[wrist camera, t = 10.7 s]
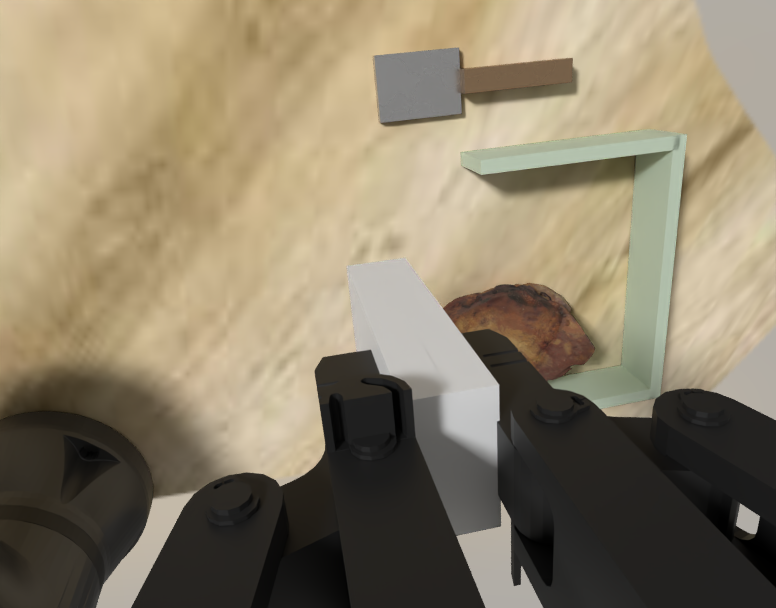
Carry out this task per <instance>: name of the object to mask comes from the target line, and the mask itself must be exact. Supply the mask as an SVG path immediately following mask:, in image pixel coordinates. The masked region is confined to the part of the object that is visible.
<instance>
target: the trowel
mask: <svg viewBox="0 0 776 608" xmlns="http://www.w3.org/2000/svg"><path fill="white" fill-rule="evenodd" d="M373 64H374V75H375V85H376V96H377V107H378V118H379V122H380V123H384V122H392V121H401V120H410V119H419V118H428V117H437V116H445V115H454V114H462V111H461V93H464V94H466V93H476V92H485V91H494V90H503V89H513V88H522V87H531V86H540V85H550V84H559V83H568V82H572V64H573V58H563V59H553V60H543V61H533V62H523V63H514V64H504V65H494V66H484V67H474V68H464V69H460V61H459V48H449V49H439V50H428V51H418V52H407V53H397V54H387V55H376V56H373Z"/></svg>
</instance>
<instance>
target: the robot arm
mask: <svg viewBox="0 0 776 608" xmlns="http://www.w3.org/2000/svg"><path fill="white" fill-rule="evenodd" d="M347 274H348V283H349V292H350V300H351V309H352V317H353V326H354V334H355V343H356V351H357V352H353V353H346V354H340V355H334V356H328V357H323V358H322V359H321V361H320V363H319V364H318V366H317V368H316V369H315V378H316V384H317V391H318V398H319V404H320V411H321V418H322V424H323V431H324V438H325V452H324V454H323V456H322V459H321V460H320V461H319V462H318V464H317V465H316V466H315V467H314V468H313V469H311V470H310V471H309V472H308V473H306V474H305V475H303V476H301V477H300V478H298V479H296V480H294V481H292V482H290V483H287V484H285V485H283V486H279V484H278V483H277V482H276V480H274V479H272V478H270V477H268V476H266V475H264V474H256V473H241V474H235V475H228V476H226V477H223V478H221V479H218V480H216V481H213V482H211V483H209V484H208V485H206V486H205V487H203V488H202V489H201V490H199V491H198V492H196V493H195V494H194V495H193V496H192V498H191V499H190V500H189V502H188V503H187V504H186V505H185V506H184V508H183V510H182V512H181V514H180V516H179V518H178V519H177V521H176V523H175V525H174V527H173V529H172V531H171V533H170V535H169V537H168V538H167V540H166V542H165V544H164V546H163V548H162V550H161V552H160V554H159V556H158V558H157V560H156V561H155V563H154V565H153V567H152V569H151V571H150V573H149V575H148V577H147V578H146V581H145V583H144V584H143V586H142V588H141V590H140V592H139V594H138V596H137V598H136V600H135V601H134V603H133V605H132V607H131V608H485V606H484V603H483V601H482V598H481V596H480V593H479V591H478V588H477V586H476V583H475V581H474V579H473V576H472V574H471V571H470V569H469V566H468V564H467V562H466V559H465V557H464V554H463V552H462V549H461V547H460V545H459V542H458V539H457V537H456V536H458V535H462V534H467V533H472V532H476V531H481V530H486V529H491V528H495V527H500V526H501V501H502V503H503V504H504V507H505V508H506V510H507V512H508V514H509V516H510V518H511V574H512V579H513V583H514V586H516V585H520V584H521V566H522V567H523V569H524V570H525V572H526V575H527V577H528V578H529V580H530V582H531V584H532V586H533V588H534V590H535V592H536V594H537V596H538V598H539V600H540V602H541V604H542V606H543V608H776V420H774V419H772V418H770V417H768V416H766V415H764V414H761V413H760V412H758V411H756V410H754V409H752V408H750V407H747V406H746V405H744V404H742V403H740V402H738V401H736V400H734V399H731V398H729V397H726V396H723V395H721V394H718V393H714V392H709V391H704V390H702V389H678V390H674V391H669V392H665V393H664V394H662V395H660V396H659V397H657V398H656V400H655V403H654V406H653V412H652V418H637V417H610V416H607V415H606V414H605V413H604V412H603V411H602V410H601V409H600V408H599V407H598V406H597V405H596V404H595V403H593V402H592V401H591V400H589V399H588V398H586V397H585V396H583V395H580V394H577V393H575V392H572V391H569V390H561V389H554V388H553V387H552V386H551V385H550V384H549V383H548V382H547V381H546V380H545V379H544V377H543V376H542V375H541V374H540V373H539V372H538V371H537V370H536V369H535V368H534V366H533V365H532V364H531V363H530V362H529V361H528V362H527V359H526V358H525V356H524V355H523V354H522V353H521V352H518V349H517V348H516V346H515V345H514V344H513V343H512V342H511V341H510V340H509V339H508V338H507V337H505V336H503V335H501V334H499V333H497V332H495V331H493V330H490V329H484V330H478V331H472V332H465V333H460V331H459V330H458V328H457V327H456V326H455V324H454V323H453V322H452V320H451V319H450V318H449V316H448V315H447V314H446V312H445V311H444V310H443V308H442V307H441V305H440V304H439V303H438V301H437V300H436V299H435V297H434V296H433V295H432V293H431V292H430V291H429V289H428V288H427V287H426V285H425V284H424V283H423V281H422V280H421V278H420V277H419V276H418V274H417V273H416V272H415V270H414V269H413V268H412V266H411V265H410V264H409V262H408V261H407V260H406V258H400V259H393V260H385V261H378V262H371V263H364V264H357V265H350V266H347ZM152 499H153V483H152V478H151V474H150V471H149V468H148V466H147V464H146V462H145V460H144V459H143V457H142V456H141V454H140V453H139V451H138V450H137V449H136V448H135V447H134V446H133V445H132V444H131V443H130V442H129V441H128V440H127V439H126V438H125V437H123V436H122V435H121V434H119V433H118V432H116V431H115V430H113V429H112V428H110V427H108V426H106V425H104V424H102V423H100V422H97V421H95V420H92V419H89V418H86V417H83V416H79V415H75V414H69V413H63V412H30V413H23V414H18V415H14V416H10V417H7V418H4V419H1V420H0V608H96V605H97V602H98V599H99V595H100V592H101V589H102V586H103V584H104V582H105V581H106V580H107V579H108V577H109V576H110V575H111V573H112V572H113V571H114V569H115V568H116V567H117V565H118V564H119V563H120V561H121V560H122V559H123V558H124V557H125V556H126V555H127V554H128V553H129V552H130V550H131V549H132V548H133V547H134V546H135V544H136V543H137V542H138V540H139V538H140V536H141V535H142V533H143V530H144V528H145V526H146V522H147V519H148V515H149V512H150V508H151V504H152ZM740 503H741V504H742V505H744V506H745V507H747V508H748V509H750V510H751V511H753V512H755V513H756V514H758V515H759V516H760V520H759V524H758V530H757V533H756V535H755V534H749V533H747V532H746V531H744V530H742V529H740V528H739V527H737V526H736V522H737V517H738V511H739V505H740Z"/></svg>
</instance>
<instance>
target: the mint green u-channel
mask: <svg viewBox="0 0 776 608" xmlns="http://www.w3.org/2000/svg"><path fill="white" fill-rule="evenodd" d="M686 139H687V134H681V133H674V132H667V131H660V130H653V129H645V130H637V131H629V132H621V133H612V134H604V135H596V136H588V137H580V138H572V139H563V140H555V141H547V142H539V143H531V144H523V145H515V146H506V147H498V148H490V149H482V150H474V151H466V152H461V166H463V167H465V168H468V169H470V170H472V171H474V172H476V173H478V174H480V175H485V174H492V173H500V172H508V171H515V170H523V169H531V168H539V167H546V166H554V165H562V164H570V163H577V162H585V161H593V160H601V159H608V158H616V157H624V156H632V155H636V163H635V177H634V191H633V205H632V220H631V234H630V248H629V262H628V276H627V290H626V304H625V318H624V333H623V347H622V361H621V365H620V366H615V367H609V368H604V369H598V370H593V371H587V372H582V373H576V374H571V375H566V376H562V377H559V378H557V379H554V380H548V381H547V382H548V383H549V384H550V385H551V386H552V387H553V388H554V389H561V390H569V391H572V392H575V393H577V394H580V395H583V396H585V397H586V398H588V399H589V400H591V401H592V402H593V403H595V404H596V405H597V406H598V407H599V408H600V409H603V408H608V407H613V406H618V405H623V404H628V403H633V402H639V401H644V400H649V399H654V398H657V397H659V396H660V393H661V383H662V373H663V364H664V354H665V344H666V334H667V325H668V315H669V305H670V295H671V285H672V276H673V266H674V256H675V246H676V237H677V227H678V217H679V207H680V197H681V188H682V178H683V168H684V158H685V148H686Z"/></svg>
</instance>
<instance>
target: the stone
mask: <svg viewBox="0 0 776 608" xmlns="http://www.w3.org/2000/svg"><path fill="white" fill-rule="evenodd" d="M443 310H444V311H445V312H446V314H447V315H448V316H449V318H450V319H451V320H452V322H453V323H454V324H455V326H456V327H457V328H458V330H459V331H460V333H465V332H472V331H478V330H484V329H490V330H493V331H495V332H497V333H499V334H501V335H503V336H505V337H507V338H508V339H509V340H510V341H511V342H512V343H513V344H514V345H515V346H516V348H517V349H518V352H521V353H522V354H523V355H524V356H525V358H526V359H527V362H528V361H529V362H530V363H531V364H532V365H533V366H534V368H535V369H536V370H537V371H538V372H539V373H540V374H541V375H542V376H543V377H544V379H545V380H546V381H548V380H554V379H557V378H559V377H562V376H563V375H565V374H566V373H567V372H568V371H569V370H571V369H572V368H570V367H571V366H572V365H583V364H585V363H586V362H587V361H588V359H589V358H590V357H591V356H592V355H593V353H594V351H595V347H594V345H593V344H592V343H591V342H590V340H589V338H588V336H587V335H586V334H585V333H584V331H583V329H582V328H581V326H580V325H579V324H578V322H577V321H576V320H575V319H574V317H573V316H572V315H571V314H570V312H571V308H570V306H569V305H568V303H567V302H566V300H565V299H564V298H563V297H562V296H561V295H559V294H557V293H556V292H554V291H553V290H551V289H549V288H548V287H546V286H544V285H539V284H532V283H527V284H523V285H519V284H515V285H506V284H505V285H498V286H496V287H495V288H492V289H489V290H487V291H485V292H483V293H474V294H470V295H466V296H463V297H459V298H456V299H454V300H453V301H452V302H450V303H448V304H447V305H446V306H445V307H444V308H443Z"/></svg>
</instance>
